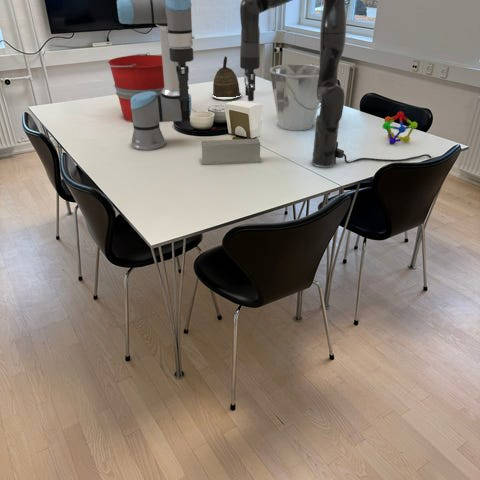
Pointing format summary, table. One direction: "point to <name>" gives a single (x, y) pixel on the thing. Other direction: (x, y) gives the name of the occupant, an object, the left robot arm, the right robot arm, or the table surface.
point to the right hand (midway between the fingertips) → (249, 98)
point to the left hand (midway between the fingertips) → (185, 114)
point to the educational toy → (398, 128)
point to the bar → (230, 151)
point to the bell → (225, 82)
